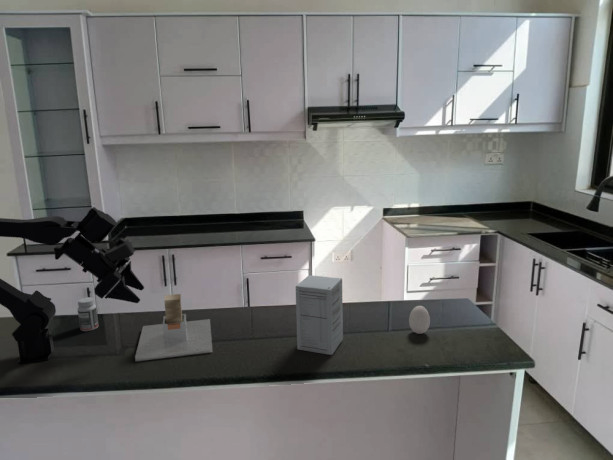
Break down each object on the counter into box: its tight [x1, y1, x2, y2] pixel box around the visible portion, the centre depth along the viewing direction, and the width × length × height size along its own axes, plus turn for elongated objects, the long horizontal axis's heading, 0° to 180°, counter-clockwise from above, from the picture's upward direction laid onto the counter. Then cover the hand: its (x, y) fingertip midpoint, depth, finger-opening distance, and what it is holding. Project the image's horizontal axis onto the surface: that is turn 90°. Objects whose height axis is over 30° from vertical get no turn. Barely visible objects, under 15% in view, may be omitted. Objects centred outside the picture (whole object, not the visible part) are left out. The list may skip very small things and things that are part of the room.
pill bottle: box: [77, 296, 99, 332], centre depth 128 cm, size 5×5×8 cm
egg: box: [408, 305, 431, 335], centre depth 122 cm, size 5×5×8 cm
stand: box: [134, 313, 214, 362], centre depth 120 cm, size 18×18×6 cm
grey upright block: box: [295, 274, 344, 356], centre depth 115 cm, size 10×9×17 cm
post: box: [164, 293, 183, 323], centre depth 119 cm, size 4×4×10 cm
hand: (141, 295), depth 116 cm, fingers open, 9 cm apart
